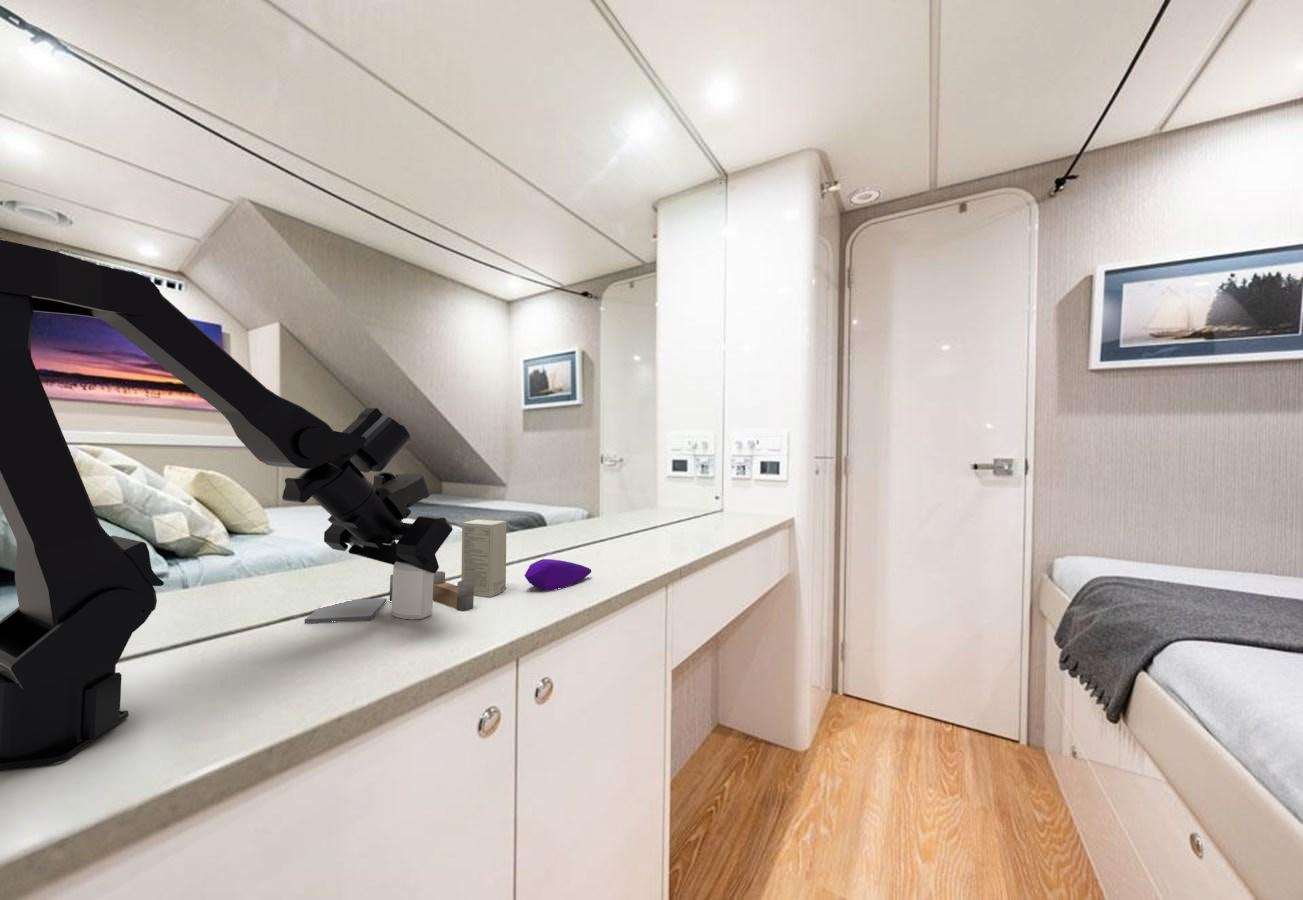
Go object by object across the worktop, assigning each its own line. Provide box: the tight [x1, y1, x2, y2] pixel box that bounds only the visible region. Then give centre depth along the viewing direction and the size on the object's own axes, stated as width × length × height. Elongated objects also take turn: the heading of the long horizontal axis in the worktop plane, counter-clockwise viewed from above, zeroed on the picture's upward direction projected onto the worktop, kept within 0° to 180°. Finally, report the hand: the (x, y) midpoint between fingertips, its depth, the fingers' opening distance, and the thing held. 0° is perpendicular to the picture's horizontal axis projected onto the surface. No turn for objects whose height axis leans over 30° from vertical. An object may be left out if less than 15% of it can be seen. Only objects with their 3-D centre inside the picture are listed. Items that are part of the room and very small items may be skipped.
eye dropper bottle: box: [390, 561, 434, 620], centre depth 68 cm, size 4×6×12 cm
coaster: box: [304, 597, 388, 624], centre depth 68 cm, size 8×8×1 cm
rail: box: [389, 570, 475, 612], centre depth 73 cm, size 13×8×4 cm, turn 106°
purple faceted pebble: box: [524, 558, 592, 591], centre depth 86 cm, size 5×5×15 cm
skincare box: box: [460, 518, 507, 598], centre depth 80 cm, size 6×4×12 cm
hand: (421, 567), depth 69 cm, fingers closed on eye dropper bottle, 6 cm apart
